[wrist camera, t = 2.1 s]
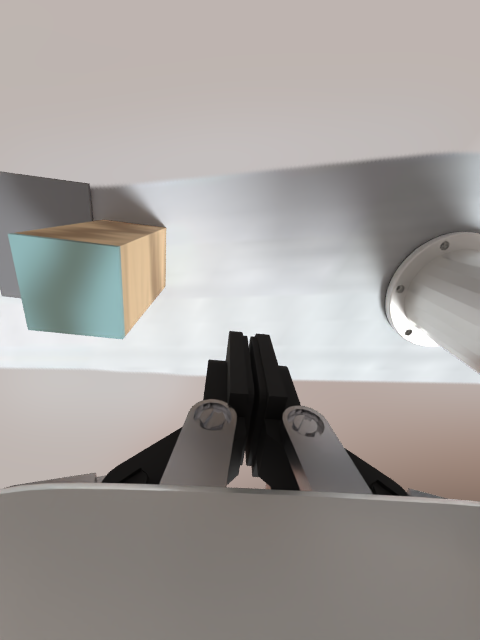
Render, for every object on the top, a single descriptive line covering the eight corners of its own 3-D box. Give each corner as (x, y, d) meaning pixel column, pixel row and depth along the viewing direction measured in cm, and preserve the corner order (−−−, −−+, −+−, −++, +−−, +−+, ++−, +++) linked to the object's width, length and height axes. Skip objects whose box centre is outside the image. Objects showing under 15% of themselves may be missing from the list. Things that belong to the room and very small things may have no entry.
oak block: (166, 227, 26) (117, 247, 15) (165, 286, 29) (122, 339, 18) (103, 219, 26) (7, 233, 15) (107, 279, 28) (28, 329, 17)
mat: (89, 183, 25) (87, 183, 24) (100, 305, 30) (98, 306, 29) (-27, 168, 24) (-30, 167, 24) (4, 295, 29) (2, 296, 29)
